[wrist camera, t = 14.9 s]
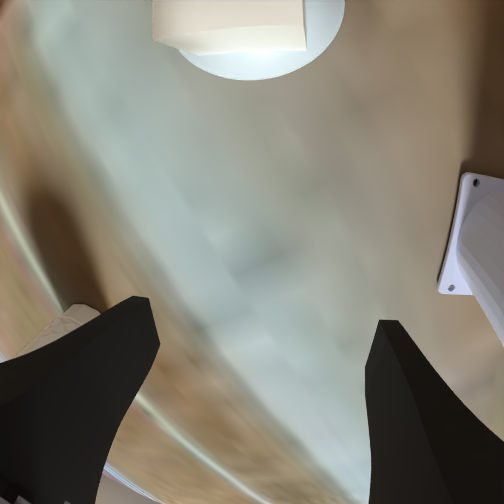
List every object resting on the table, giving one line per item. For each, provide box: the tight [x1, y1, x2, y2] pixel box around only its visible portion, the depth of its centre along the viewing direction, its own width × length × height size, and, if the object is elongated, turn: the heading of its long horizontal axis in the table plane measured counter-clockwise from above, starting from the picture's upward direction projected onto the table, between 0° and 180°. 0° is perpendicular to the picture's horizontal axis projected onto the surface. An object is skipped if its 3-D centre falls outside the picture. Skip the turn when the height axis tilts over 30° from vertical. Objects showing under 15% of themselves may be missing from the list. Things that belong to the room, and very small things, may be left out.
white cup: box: [12, 304, 101, 359], centre depth 22 cm, size 8×8×10 cm
